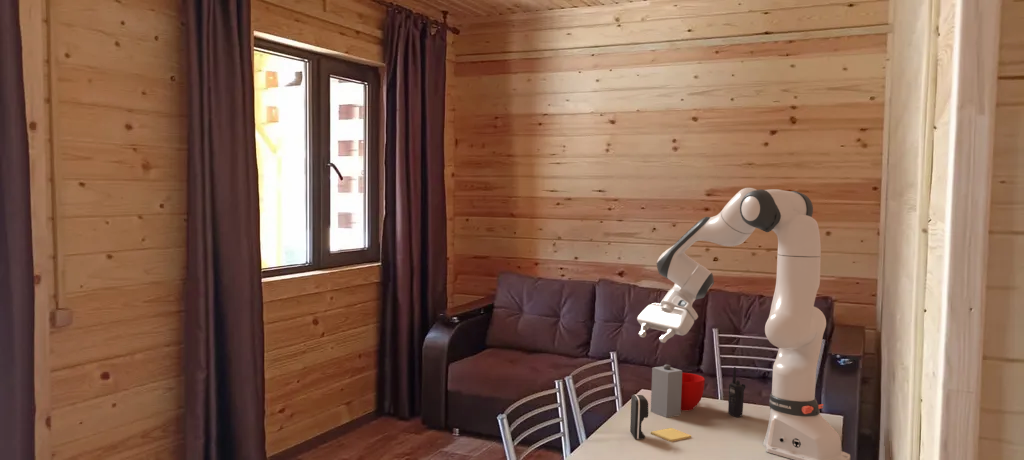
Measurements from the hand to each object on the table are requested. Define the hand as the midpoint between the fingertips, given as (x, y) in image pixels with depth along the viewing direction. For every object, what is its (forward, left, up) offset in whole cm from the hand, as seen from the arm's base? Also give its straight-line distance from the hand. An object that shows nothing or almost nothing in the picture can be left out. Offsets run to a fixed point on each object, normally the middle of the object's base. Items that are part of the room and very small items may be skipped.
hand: (651, 338), depth 241 cm
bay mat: (-24, +14, -22) cm, 36 cm away
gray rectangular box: (-7, -1, -22) cm, 23 cm away
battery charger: (-20, +22, -23) cm, 38 cm away
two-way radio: (-19, -20, -23) cm, 35 cm away
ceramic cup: (-4, -12, -23) cm, 26 cm away
